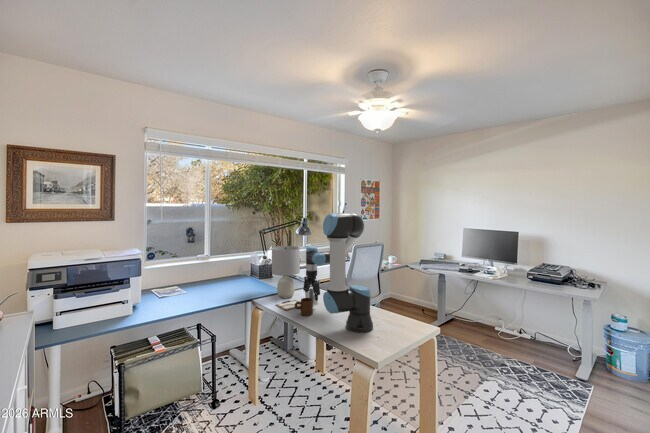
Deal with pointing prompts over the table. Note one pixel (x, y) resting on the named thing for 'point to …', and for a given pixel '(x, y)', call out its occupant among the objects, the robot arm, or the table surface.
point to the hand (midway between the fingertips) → (311, 303)
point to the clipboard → (288, 305)
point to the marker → (311, 295)
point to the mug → (305, 306)
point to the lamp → (285, 268)
